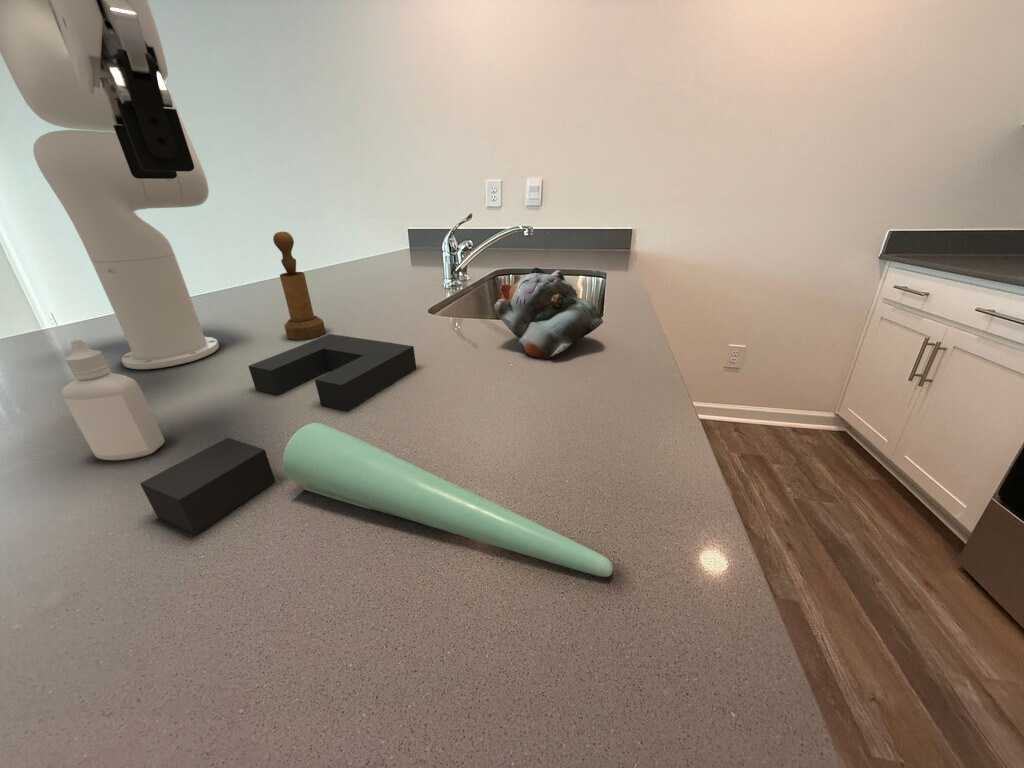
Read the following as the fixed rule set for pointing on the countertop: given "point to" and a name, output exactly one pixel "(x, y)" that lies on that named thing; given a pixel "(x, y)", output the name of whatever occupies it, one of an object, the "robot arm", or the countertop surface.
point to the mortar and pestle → (296, 295)
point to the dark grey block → (208, 484)
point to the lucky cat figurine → (546, 313)
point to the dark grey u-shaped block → (336, 369)
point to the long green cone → (421, 497)
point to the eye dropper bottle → (109, 408)
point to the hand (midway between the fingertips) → (162, 174)
